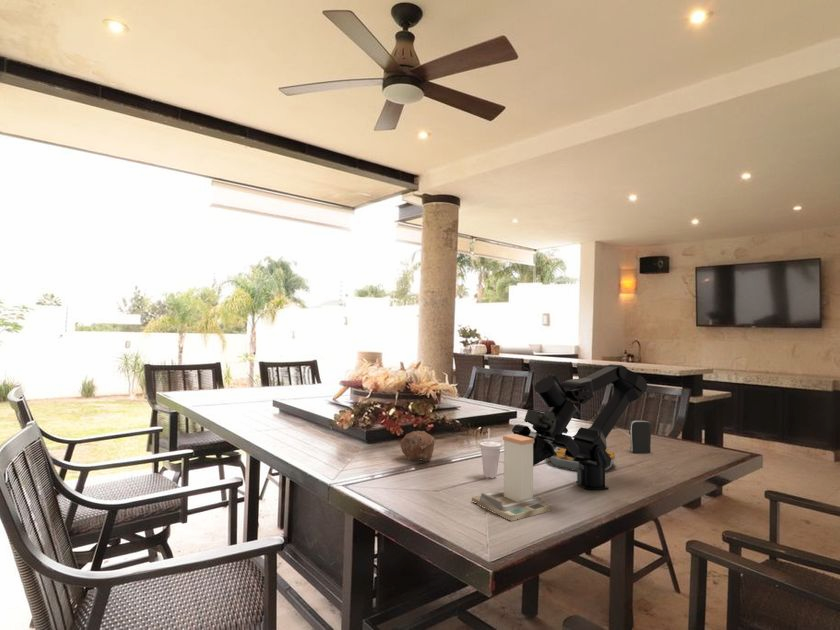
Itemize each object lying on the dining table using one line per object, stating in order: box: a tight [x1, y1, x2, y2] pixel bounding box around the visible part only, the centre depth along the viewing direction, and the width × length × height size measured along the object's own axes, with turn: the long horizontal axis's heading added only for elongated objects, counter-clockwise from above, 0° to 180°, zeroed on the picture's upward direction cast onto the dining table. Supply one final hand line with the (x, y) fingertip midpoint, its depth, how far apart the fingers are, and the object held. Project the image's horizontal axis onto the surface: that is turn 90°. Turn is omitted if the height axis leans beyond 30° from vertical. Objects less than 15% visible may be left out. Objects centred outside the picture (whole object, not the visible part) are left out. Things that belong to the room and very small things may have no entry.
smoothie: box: [479, 428, 502, 477], centre depth 139 cm, size 6×6×14 cm
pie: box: [549, 448, 617, 471], centre depth 155 cm, size 22×22×5 cm
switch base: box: [471, 489, 552, 522], centre depth 115 cm, size 13×14×3 cm
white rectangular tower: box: [502, 433, 534, 502], centre depth 116 cm, size 4×6×15 cm
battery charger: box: [628, 419, 652, 454], centre depth 172 cm, size 7×4×11 cm, turn 91°
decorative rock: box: [400, 430, 436, 461], centre depth 157 cm, size 13×11×10 cm
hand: (527, 466), depth 118 cm, fingers closed
